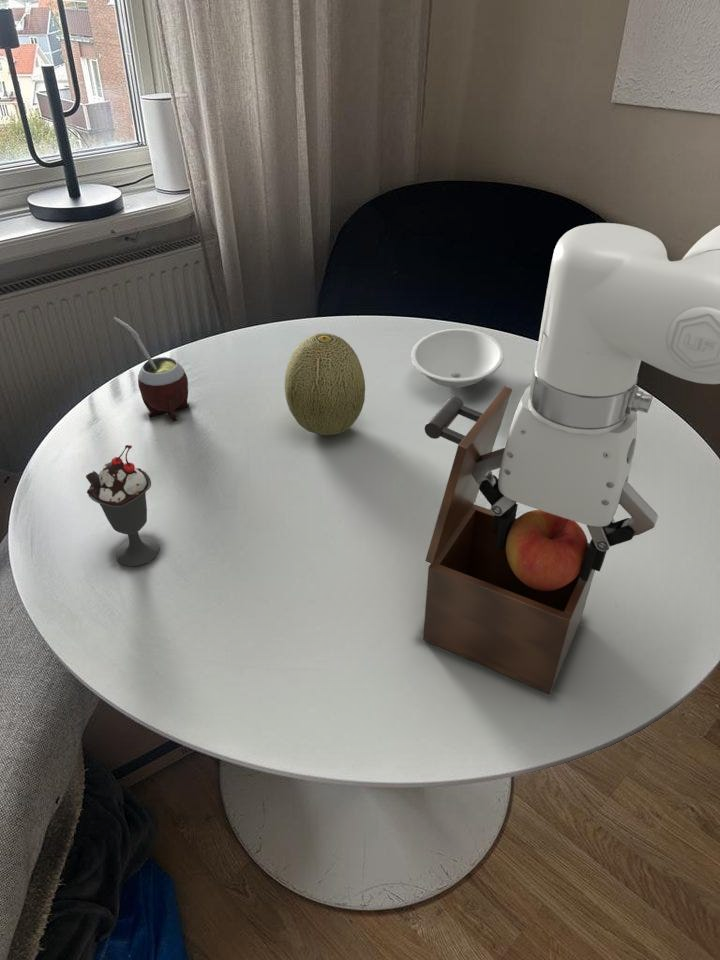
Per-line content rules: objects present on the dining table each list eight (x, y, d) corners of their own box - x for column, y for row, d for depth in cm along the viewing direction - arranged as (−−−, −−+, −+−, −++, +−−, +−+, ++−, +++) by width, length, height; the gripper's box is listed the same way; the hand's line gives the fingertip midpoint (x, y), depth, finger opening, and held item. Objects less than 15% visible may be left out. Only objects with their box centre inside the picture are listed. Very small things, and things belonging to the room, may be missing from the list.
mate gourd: (198, 416, 107) (182, 325, 97) (146, 430, 104) (124, 338, 95) (184, 393, 112) (167, 305, 103) (134, 406, 109) (112, 316, 100)
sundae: (178, 545, 85) (155, 443, 75) (137, 579, 80) (107, 476, 71) (139, 525, 88) (112, 425, 78) (97, 558, 83) (63, 455, 74)
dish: (488, 416, 106) (492, 388, 103) (397, 400, 110) (398, 372, 107) (509, 362, 119) (512, 335, 116) (426, 349, 123) (428, 322, 120)
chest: (580, 620, 75) (601, 547, 69) (549, 694, 68) (570, 621, 61) (462, 575, 81) (471, 503, 74) (422, 639, 73) (428, 566, 67)
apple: (490, 557, 70) (499, 496, 65) (559, 547, 71) (574, 485, 66) (517, 613, 64) (529, 550, 59) (592, 601, 65) (610, 538, 60)
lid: (512, 388, 64) (464, 369, 65) (467, 448, 57) (414, 425, 58) (475, 501, 73) (434, 482, 75) (432, 565, 66) (387, 542, 68)
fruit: (311, 460, 98) (305, 364, 89) (275, 422, 105) (266, 330, 96) (379, 435, 103) (381, 342, 93) (340, 400, 110) (338, 311, 101)
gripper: (706, 398, 54) (649, 563, 65) (492, 347, 61) (473, 503, 72) (689, 449, 49) (630, 618, 60) (457, 386, 56) (442, 548, 67)
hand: (544, 554), depth 66 cm, fingers closed on apple, 7 cm apart
